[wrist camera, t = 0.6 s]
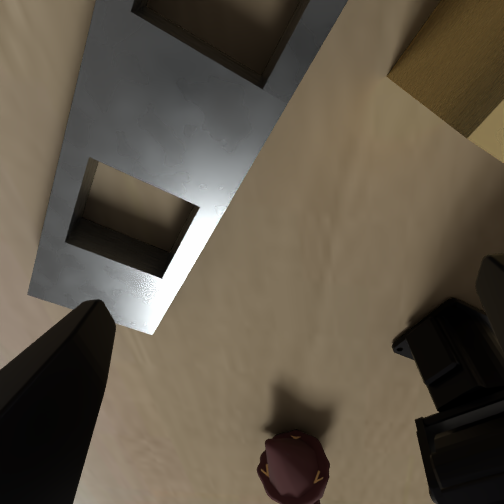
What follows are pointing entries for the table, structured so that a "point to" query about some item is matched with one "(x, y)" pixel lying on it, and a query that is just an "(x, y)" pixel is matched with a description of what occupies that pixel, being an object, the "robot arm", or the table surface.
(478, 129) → the brass peg
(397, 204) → the table surface
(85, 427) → the robot arm
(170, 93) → the rail
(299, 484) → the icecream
